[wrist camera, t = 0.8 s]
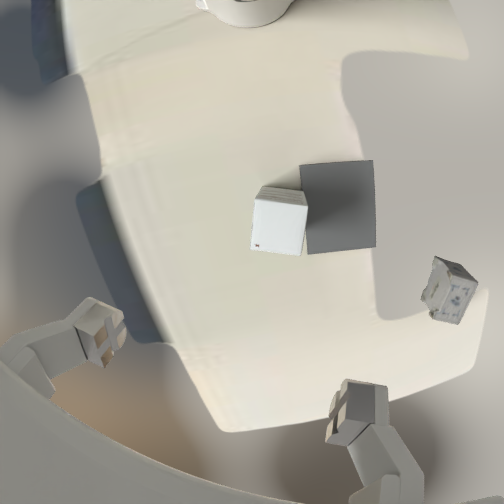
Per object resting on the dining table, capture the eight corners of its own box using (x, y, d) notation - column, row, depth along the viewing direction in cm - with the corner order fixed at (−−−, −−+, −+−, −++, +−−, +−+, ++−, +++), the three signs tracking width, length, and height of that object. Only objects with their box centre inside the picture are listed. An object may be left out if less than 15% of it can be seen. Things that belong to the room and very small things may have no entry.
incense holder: (430, 254, 53) (455, 275, 43) (458, 261, 53) (483, 282, 43) (413, 296, 56) (433, 323, 47) (441, 301, 57) (462, 326, 47)
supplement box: (298, 231, 53) (301, 258, 41) (257, 225, 53) (247, 251, 42) (305, 190, 50) (310, 206, 38) (261, 184, 50) (253, 198, 39)
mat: (299, 165, 49) (299, 165, 49) (372, 160, 47) (372, 160, 47) (307, 253, 54) (307, 254, 54) (375, 246, 53) (375, 247, 53)
